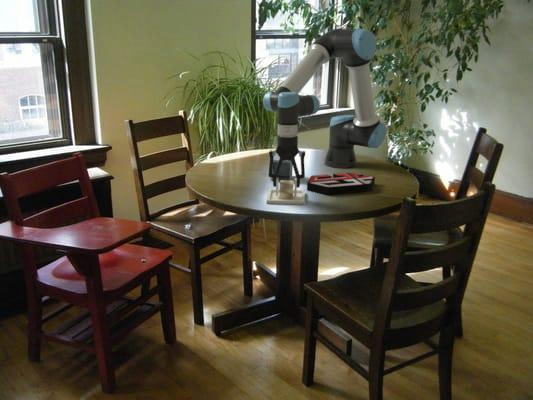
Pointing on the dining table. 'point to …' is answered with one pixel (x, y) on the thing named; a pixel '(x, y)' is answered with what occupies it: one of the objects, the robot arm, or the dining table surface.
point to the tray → (296, 200)
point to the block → (286, 189)
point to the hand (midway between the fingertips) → (286, 195)
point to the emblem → (340, 184)
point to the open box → (282, 167)
